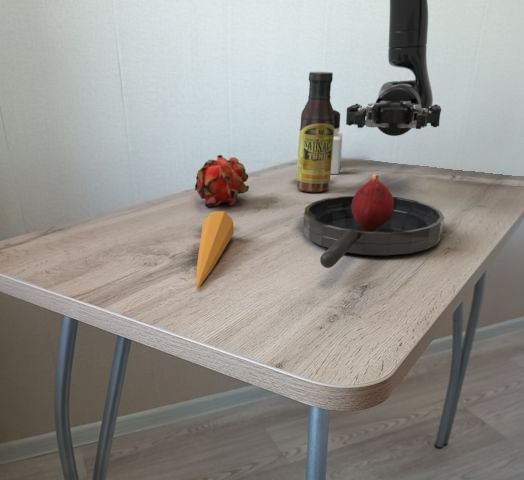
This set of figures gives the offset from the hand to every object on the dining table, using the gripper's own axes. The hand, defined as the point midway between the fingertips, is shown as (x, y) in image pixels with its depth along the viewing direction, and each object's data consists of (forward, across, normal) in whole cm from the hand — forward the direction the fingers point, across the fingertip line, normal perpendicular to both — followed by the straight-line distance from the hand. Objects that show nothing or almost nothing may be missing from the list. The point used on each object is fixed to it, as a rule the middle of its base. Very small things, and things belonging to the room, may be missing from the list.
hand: (389, 120), depth 81 cm
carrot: (+26, -19, +14) cm, 36 cm away
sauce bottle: (-15, -14, +14) cm, 25 cm away
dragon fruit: (0, -27, +14) cm, 31 cm away
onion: (+10, 0, +14) cm, 17 cm away
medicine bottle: (-32, -16, +14) cm, 38 cm away
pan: (+10, 0, +14) cm, 18 cm away
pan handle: (+25, -2, +12) cm, 28 cm away
